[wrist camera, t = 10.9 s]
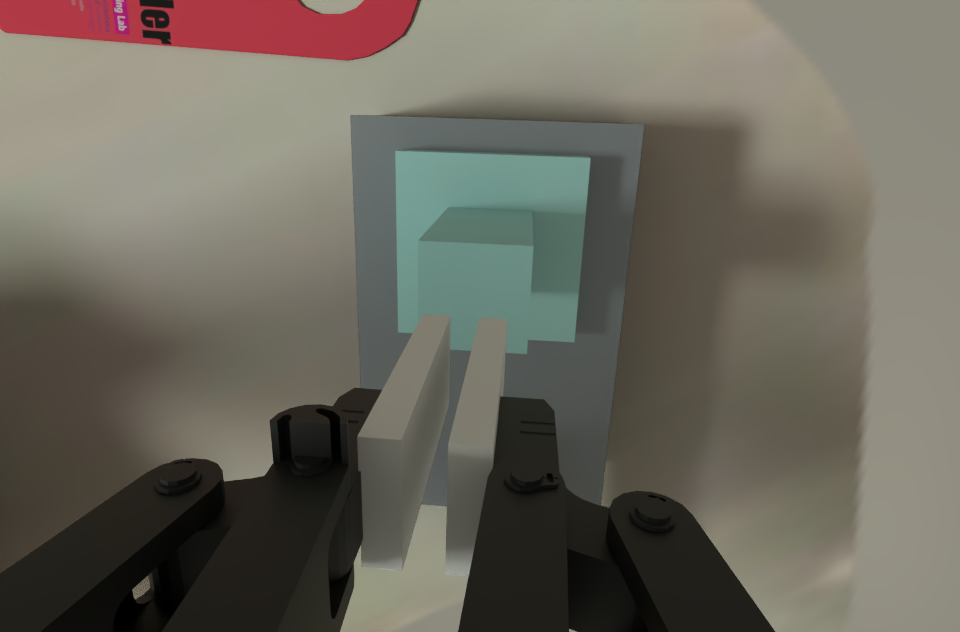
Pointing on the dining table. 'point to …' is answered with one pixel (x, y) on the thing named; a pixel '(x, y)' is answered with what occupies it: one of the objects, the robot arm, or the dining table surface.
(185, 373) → the dining table surface
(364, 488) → the robot arm
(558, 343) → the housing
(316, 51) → the door hanger
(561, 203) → the cover
